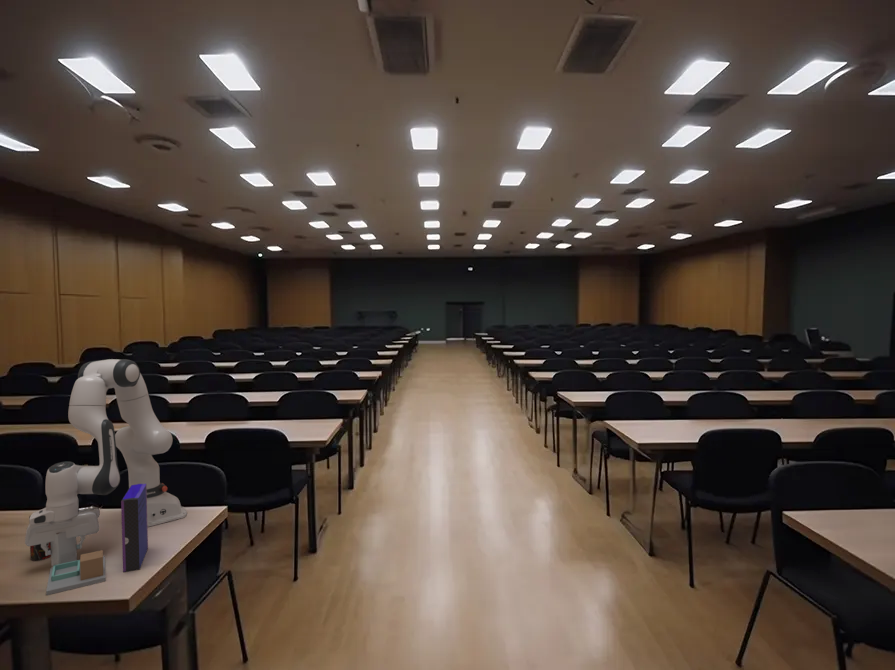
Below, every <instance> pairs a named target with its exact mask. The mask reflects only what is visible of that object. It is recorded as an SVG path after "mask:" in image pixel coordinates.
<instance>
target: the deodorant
mask: <svg viewBox="0 0 895 670" xmlns="http://www.w3.org/2000/svg"><path fill="white" fill-rule="evenodd" d="M30 516H31V515H29V517H28V520H29V519H30ZM28 522H29V521H28ZM29 523H30V522H29ZM29 523H28V524H29ZM46 547H47V548H48V549H49V548H51V542H49V543H47V544H46ZM29 549H30V550H29V552H30V553H29V554H30V561H33V562H38V561H44V560H47V559H49V558H51V555H48V556H45V551H44V550H43V549H42V548H41V544H38V545H33V546H29Z"/></svg>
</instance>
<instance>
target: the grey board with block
mask: <svg viewBox="0 0 895 670" xmlns="http://www.w3.org/2000/svg"><path fill="white" fill-rule="evenodd" d="M103 552H104V550H103V549H102V550H97V551H92V552H88V553H83V554H80V557H79V558H80V559H77V561H72V562H67V563H63V564H58V565H53V567H52V566H51V567H50V570H49V575H48V580H47V586H46V590H45V591H46V595H45V596H49V595H50V596H51V595H53V594H57V593H58V594H59V593H61V592H66V591H70V590H71V591H72V590H74V589H78V588H79V589H80V588H82V587H86V586H91V585H95V583H96V584H99V582H100V583H102V582H103V581H104V582H106V558H105V555H104V553H103Z"/></svg>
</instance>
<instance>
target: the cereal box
mask: <svg viewBox="0 0 895 670" xmlns="http://www.w3.org/2000/svg"><path fill="white" fill-rule="evenodd" d="M128 488H129V487H128ZM120 503H121V505H120V506H121V507H120V508H121V509H120V510H121V511H120V513H121V543H122V544H121V545H122V550H121V551H122V573H128V572H129V573H130V572H133V571H135V572H136V571H139V570H141V568H142V565H143V562H144V561H145V560H144V559H145V557H146V555H147V552H148V550H149V539H148V538H149V535H148V530H149V529H148V528H149V527H147V488H146V484H137V485H131V487H130V488H129V490H128V489H127V491H126V493H125V494H124V496H123V498H122V499H121V501H120Z"/></svg>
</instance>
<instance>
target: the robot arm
mask: <svg viewBox="0 0 895 670" xmlns="http://www.w3.org/2000/svg"><path fill="white" fill-rule="evenodd" d="M109 389H114V392H115V398H116V402H117V406H118V410H119V413H120V417H121V419H122V420H123V421H124V422H126V423H127V424H128V425H127V426H123V427H121V428H120V429H118V430H117V431H116V433H115V426H114V424H113V422H112V421H111V420H110V419H109V418H108V416H107V410H106V406H107V392H108V390H109ZM68 405H69V406H68V410H67V411H68V413H67V414H68V416H67V417H68V421H69V423H70V425H72V427H73V428H74V429H76V430H78V431H81V432H83V433H85V434H88V435H90V436H91V437H93V438H94V439H95V440H96V441H97V446H98V457H99V465H79V464H75V463H74V462H73V461H61V462H57V463H54V464H53V465H51V466H50V467H48V469H47V471H46V474H45V475H46V476H45V484H44V485H45V495H46V499H47V500H46V503H45V507H44V508H42V509H39V510H37V511H34V512H33V513H31V515H29V516H30V519H29V518H28V520H29V521H28V522H30V523H28V524H27V525H28V526H27V528H26V532H25V537H24V544H25V546H27V547H30V546H33V545H38V544H41V548H42V549H43V550H44V551H45V556H48V555H51V548H49V549H48V548H47V547H46V544H47V543H49V542H54V541H55V535H54V534H55V533H60V532H65V531H66V538H67V539H69V538H74V537H76V538H77V537H78V538H79V537H80V538H79V539H80V541H78V542H76V547H77V550H81V549H83V547H82V545H83V543H84V541H85V539H86V536H88V535H89V536H90V535H93V534H97V533H98V532H99V530H100V524H99V517H100V514H101V513H100V511H101V509H100V508H99V507H97V506H94V505H92V506H87V507H81V508H79V498H78V495H79V494H80V495H99V496H107V495H109V494H111V493H112V492H114V490H116V488H117V487H119V485H120V482H121V474H120V473H121V472H120V469H119V464H118V456H117V455H118V454H117V450H119V452H121V454H122V456H123V458H124V461H125V464H126V468H127V471H128V473H127V474H128V488H127V491H128V490H129V488H130V487H131V485H137V484H146V488H147V527H148V528H149V527H152V526H157V525H160V524H164V523H167V522H172V521H176V520H180V519H183V518H185V517H187V515H188V510H187V509H186V507H184V506H182V505H181V502H180V500H179V498H178V497H177V496H175V495H174V494H171V493H169V492H167V491H168V487H167V485H165V484H164V483H163V482H160V480H161V479H160V476H161V475H160V466H159V463H158V462H157V461H156V460H155V459H154V457H153V456H154V455H160V454H164V453H166V452H168V451H169V450H170V448H171V447H172V445H173V436H172V433H171V432H170V431H169V430H168V429H166V428H165V427H164V425H163V424H162V423H161V422H160V420H159V419H158V417H157V416H156V413H155V412H154V410H153V407H152V403H151V399H150V396H149V392H148V388H147V384H146V382H145V380H144V377H143V375H142V373H141V370H140V367H139V366H138V364H137V363H136V362H135V361H134V360H130V359H126V358H125V359H124V358H123V359H117V358H116V359H113V358H111V359H110V358H109V359H102V360H92V361H88V362H85V363H83V364H82V365H81V367H80V369H79V370H78V373H77V379H76V380H75V382H74V384H73V387H72V390H71V394H70V399H69V403H68Z"/></svg>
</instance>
